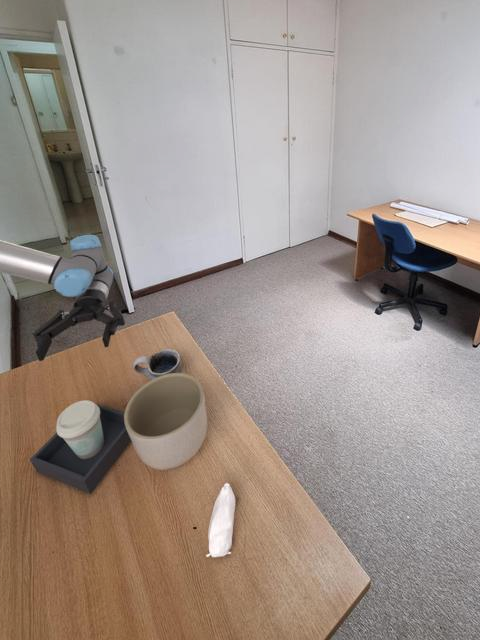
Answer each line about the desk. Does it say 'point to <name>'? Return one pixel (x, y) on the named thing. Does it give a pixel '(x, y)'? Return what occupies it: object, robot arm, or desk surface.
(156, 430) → the planter
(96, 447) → the coffee cup
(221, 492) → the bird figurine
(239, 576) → the desk surface
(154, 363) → the mug
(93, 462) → the bin
